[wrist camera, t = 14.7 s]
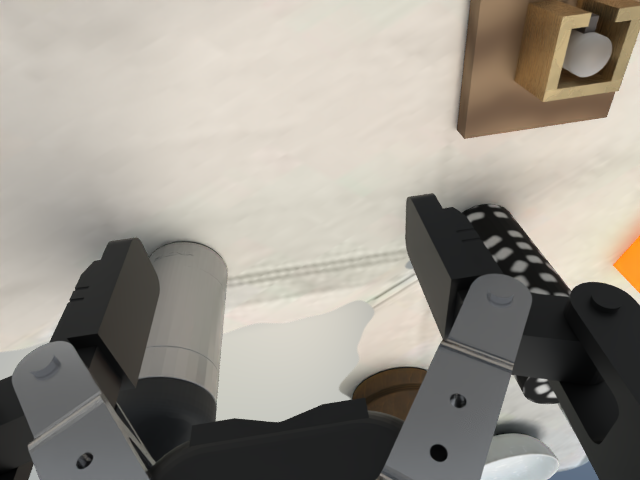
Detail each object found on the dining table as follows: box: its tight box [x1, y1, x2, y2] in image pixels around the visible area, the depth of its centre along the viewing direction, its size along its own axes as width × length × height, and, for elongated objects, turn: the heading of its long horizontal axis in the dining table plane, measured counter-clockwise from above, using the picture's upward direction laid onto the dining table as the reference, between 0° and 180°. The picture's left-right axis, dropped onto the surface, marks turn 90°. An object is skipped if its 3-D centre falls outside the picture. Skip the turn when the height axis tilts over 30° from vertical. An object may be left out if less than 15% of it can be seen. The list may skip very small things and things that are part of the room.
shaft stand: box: [457, 0, 640, 139], centre depth 35 cm, size 16×14×7 cm
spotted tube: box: [462, 204, 571, 404], centre depth 44 cm, size 8×8×20 cm
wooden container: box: [353, 368, 427, 421], centre depth 64 cm, size 15×15×22 cm
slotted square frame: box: [514, 0, 640, 102], centre depth 34 cm, size 6×6×5 cm
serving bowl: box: [480, 433, 559, 480], centre depth 87 cm, size 21×21×7 cm
